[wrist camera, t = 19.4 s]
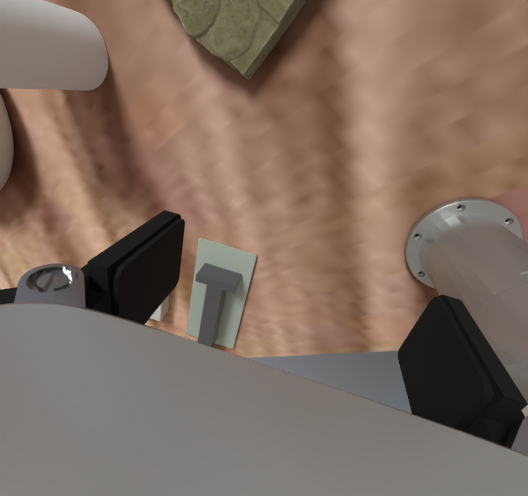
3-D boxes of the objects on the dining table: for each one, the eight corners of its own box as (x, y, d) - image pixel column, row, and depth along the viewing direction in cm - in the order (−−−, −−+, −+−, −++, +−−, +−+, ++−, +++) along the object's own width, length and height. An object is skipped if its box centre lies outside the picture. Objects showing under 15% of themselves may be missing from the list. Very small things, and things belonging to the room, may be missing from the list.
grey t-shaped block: (226, 342, 52) (219, 357, 49) (194, 332, 53) (186, 346, 50) (241, 274, 45) (235, 287, 42) (205, 262, 45) (196, 274, 42)
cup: (121, 69, 36) (-14, 51, 22) (77, 102, 39) (-66, 105, 25) (78, -7, 33) (-108, -83, 19) (34, 35, 36) (-154, -4, 22)
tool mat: (257, 254, 44) (256, 256, 43) (233, 346, 53) (232, 349, 53) (200, 237, 44) (198, 239, 44) (187, 331, 54) (186, 333, 53)
